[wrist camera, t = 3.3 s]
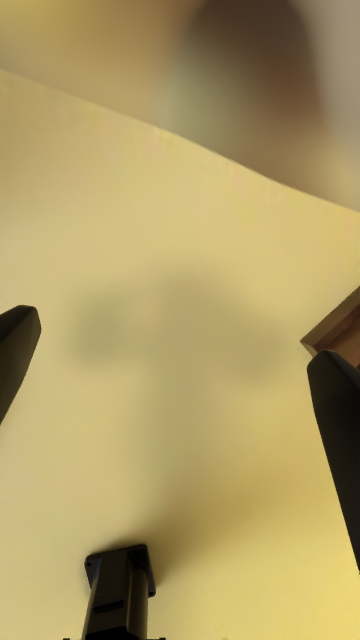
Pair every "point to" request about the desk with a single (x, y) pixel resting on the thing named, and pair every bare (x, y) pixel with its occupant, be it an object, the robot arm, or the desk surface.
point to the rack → (339, 331)
